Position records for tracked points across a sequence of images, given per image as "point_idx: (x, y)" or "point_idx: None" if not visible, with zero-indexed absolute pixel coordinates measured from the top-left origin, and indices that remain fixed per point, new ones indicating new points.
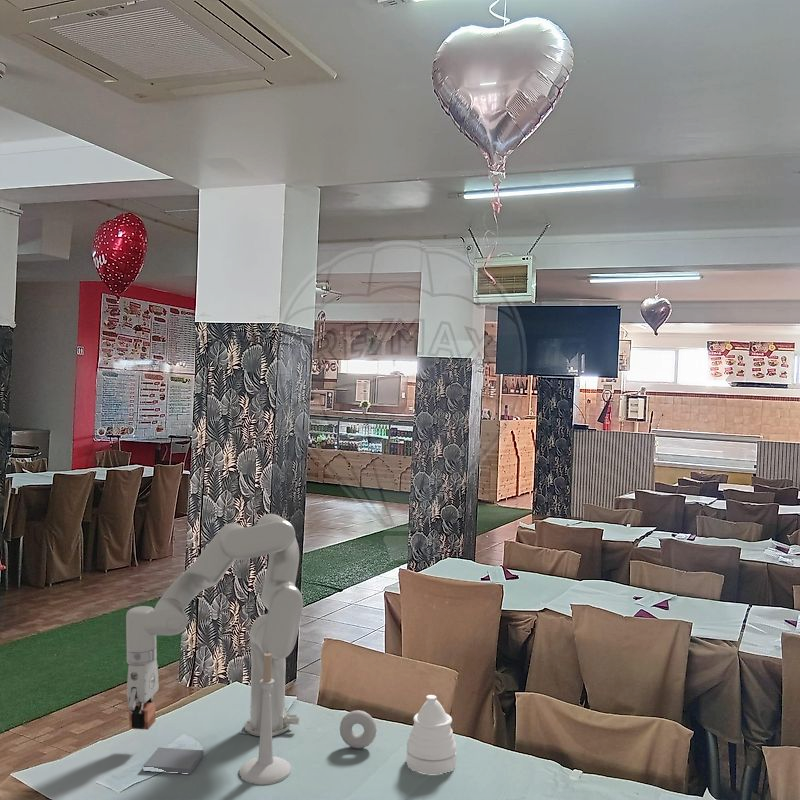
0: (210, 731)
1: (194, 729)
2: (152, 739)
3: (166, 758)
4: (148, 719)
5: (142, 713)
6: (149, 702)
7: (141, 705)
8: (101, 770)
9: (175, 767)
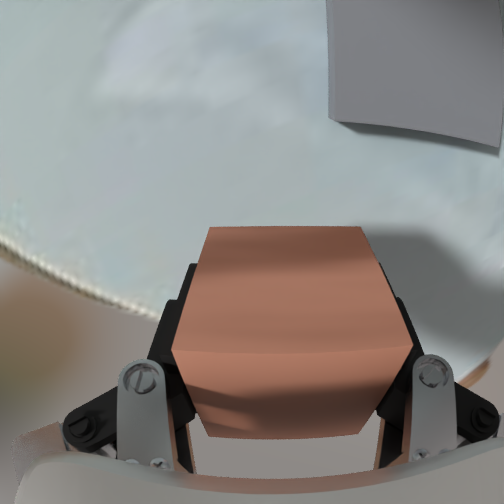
0: (60, 5)
1: (54, 77)
2: (185, 205)
3: (443, 52)
4: (367, 272)
5: (412, 354)
6: (180, 387)
7: (455, 428)
8: (453, 281)
9: (498, 12)
